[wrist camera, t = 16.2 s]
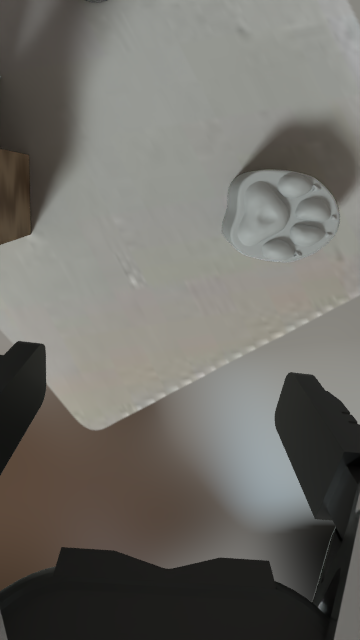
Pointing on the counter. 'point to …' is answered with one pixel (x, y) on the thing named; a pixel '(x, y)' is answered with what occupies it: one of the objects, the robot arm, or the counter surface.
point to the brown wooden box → (14, 196)
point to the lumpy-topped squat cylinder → (279, 215)
